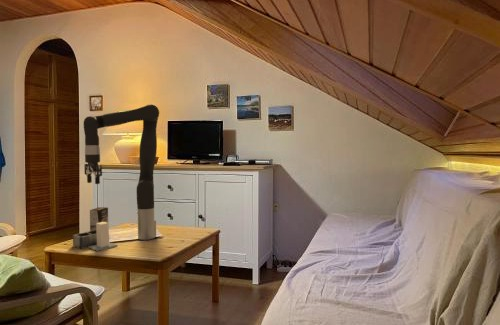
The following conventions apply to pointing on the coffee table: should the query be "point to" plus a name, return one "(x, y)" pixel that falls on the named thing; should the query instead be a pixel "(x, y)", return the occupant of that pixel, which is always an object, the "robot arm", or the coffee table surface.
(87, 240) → the grey rectangular bin
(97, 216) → the coffee box
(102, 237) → the square peg
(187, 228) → the coffee table surface
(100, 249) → the rubber mat
